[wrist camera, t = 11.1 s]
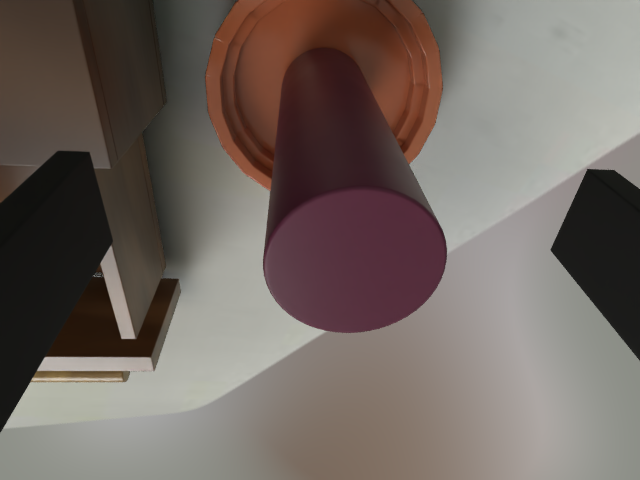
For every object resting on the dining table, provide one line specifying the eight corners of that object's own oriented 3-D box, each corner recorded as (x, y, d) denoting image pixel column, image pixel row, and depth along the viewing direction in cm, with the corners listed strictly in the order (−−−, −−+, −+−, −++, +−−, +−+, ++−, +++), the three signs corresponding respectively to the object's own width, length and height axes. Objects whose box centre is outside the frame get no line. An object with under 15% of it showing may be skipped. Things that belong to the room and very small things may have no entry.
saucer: (204, -49, 19) (193, -48, 17) (450, -32, 20) (468, -29, 18) (222, 179, 26) (215, 199, 24) (408, 185, 27) (418, 206, 25)
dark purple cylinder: (281, 44, 21) (261, 183, 9) (370, 49, 22) (468, 190, 9) (281, 131, 24) (263, 333, 11) (360, 134, 24) (427, 335, 12)
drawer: (188, 335, 32) (165, 417, 26) (16, 334, 31) (-45, 418, 26) (142, 51, 21) (87, 89, 15) (-127, 37, 20) (-288, 72, 15)
